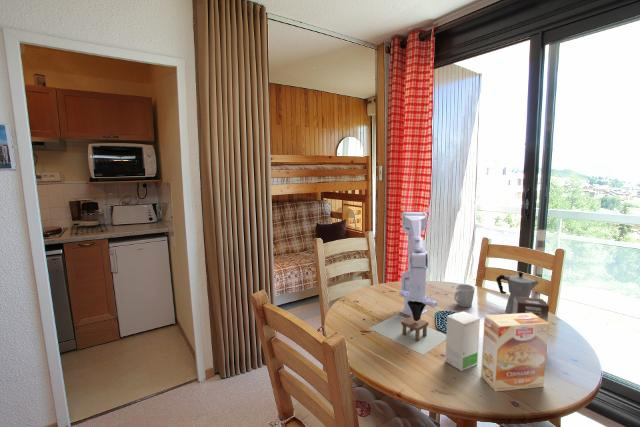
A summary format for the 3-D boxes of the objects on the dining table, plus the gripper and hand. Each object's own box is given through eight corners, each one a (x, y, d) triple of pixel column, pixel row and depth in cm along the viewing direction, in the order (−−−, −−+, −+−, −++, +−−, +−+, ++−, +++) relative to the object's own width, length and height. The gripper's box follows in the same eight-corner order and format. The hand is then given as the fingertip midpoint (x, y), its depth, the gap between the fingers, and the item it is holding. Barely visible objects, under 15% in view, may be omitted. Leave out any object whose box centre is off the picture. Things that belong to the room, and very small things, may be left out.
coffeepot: (535, 311, 135) (538, 271, 133) (537, 320, 127) (540, 278, 125) (495, 304, 143) (497, 266, 140) (494, 312, 135) (496, 272, 133)
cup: (477, 306, 141) (478, 288, 140) (461, 310, 137) (462, 292, 136) (463, 300, 148) (464, 283, 147) (448, 304, 144) (448, 286, 143)
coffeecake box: (495, 392, 87) (499, 326, 84) (479, 375, 94) (483, 314, 91) (545, 387, 88) (550, 322, 86) (526, 371, 95) (530, 311, 93)
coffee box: (514, 346, 109) (517, 302, 107) (510, 337, 115) (512, 295, 113) (545, 350, 106) (549, 305, 104) (539, 340, 112) (542, 298, 110)
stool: (401, 321, 117) (417, 328, 112) (412, 315, 122) (428, 322, 116) (401, 334, 118) (417, 342, 112) (411, 328, 122) (428, 335, 117)
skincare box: (461, 372, 96) (463, 324, 94) (443, 360, 102) (445, 315, 100) (478, 364, 100) (481, 317, 98) (461, 353, 106) (463, 309, 103)
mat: (396, 314, 134) (396, 314, 134) (450, 337, 116) (450, 336, 116) (368, 328, 123) (368, 328, 123) (423, 355, 105) (423, 355, 105)
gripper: (394, 282, 117) (394, 316, 119) (429, 293, 106) (428, 330, 108) (405, 277, 122) (405, 310, 123) (440, 288, 110) (439, 324, 112)
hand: (416, 319), depth 116 cm, fingers closed
